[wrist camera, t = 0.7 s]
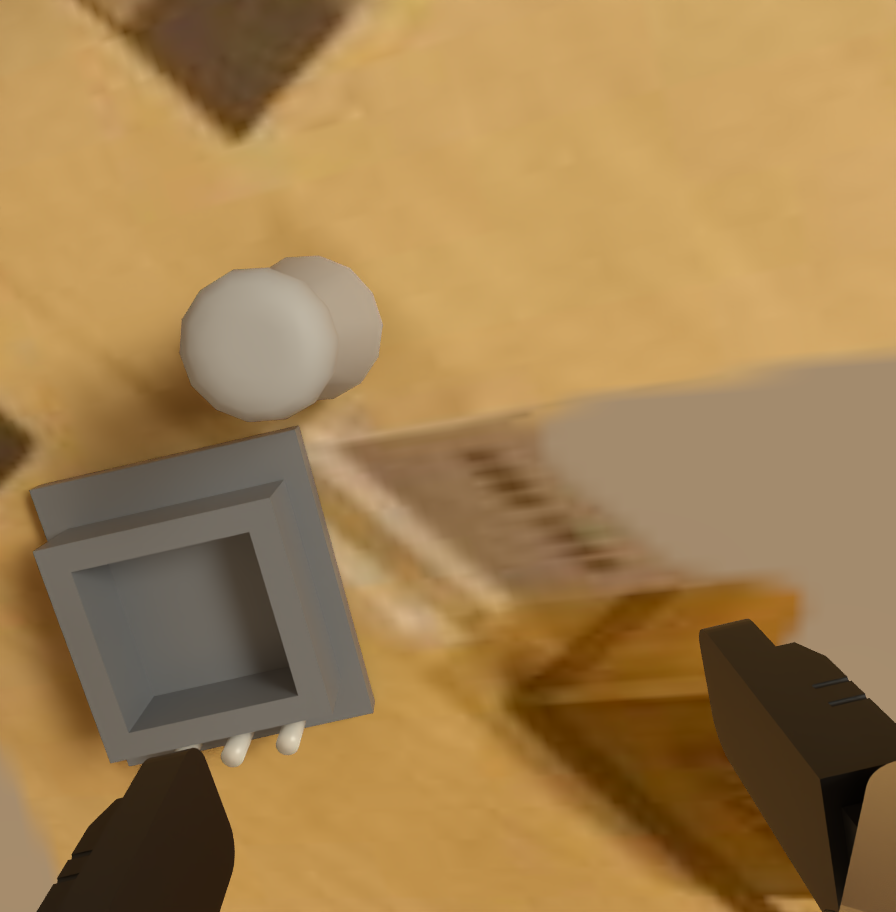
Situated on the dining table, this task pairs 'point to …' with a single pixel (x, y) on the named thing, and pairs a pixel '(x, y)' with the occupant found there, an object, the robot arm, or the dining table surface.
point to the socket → (202, 599)
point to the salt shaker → (280, 337)
